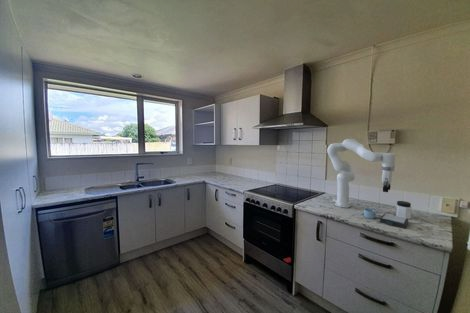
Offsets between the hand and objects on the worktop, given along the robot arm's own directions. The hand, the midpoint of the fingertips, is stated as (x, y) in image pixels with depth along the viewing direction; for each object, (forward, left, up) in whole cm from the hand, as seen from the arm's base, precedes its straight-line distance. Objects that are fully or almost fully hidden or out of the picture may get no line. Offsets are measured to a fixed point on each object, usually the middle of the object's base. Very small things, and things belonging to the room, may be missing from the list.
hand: (386, 190), depth 144 cm
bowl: (-9, -5, -22) cm, 24 cm away
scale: (+6, -4, -22) cm, 23 cm away
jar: (+9, +14, -22) cm, 28 cm away
